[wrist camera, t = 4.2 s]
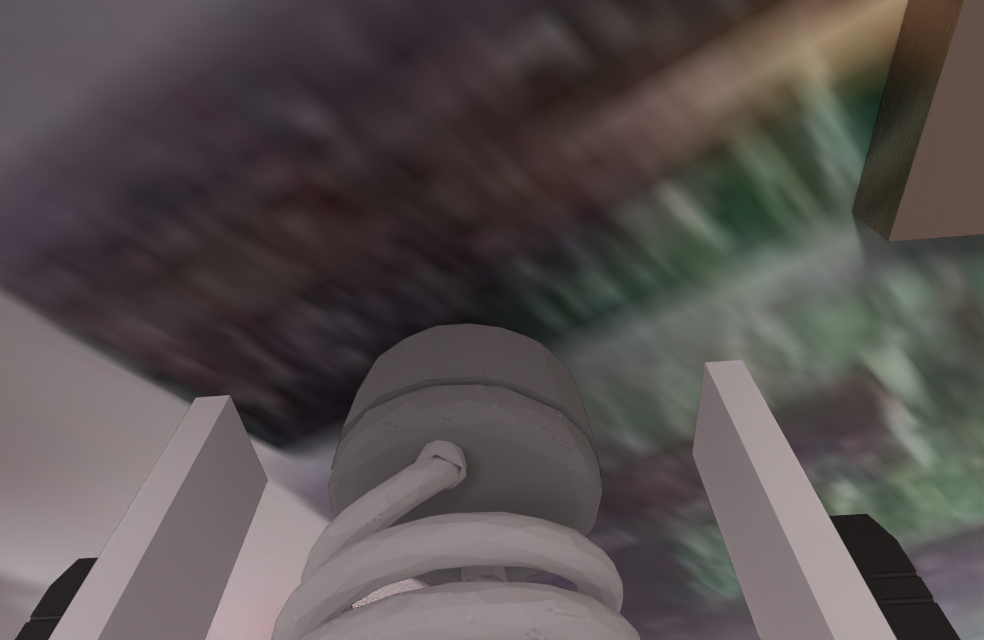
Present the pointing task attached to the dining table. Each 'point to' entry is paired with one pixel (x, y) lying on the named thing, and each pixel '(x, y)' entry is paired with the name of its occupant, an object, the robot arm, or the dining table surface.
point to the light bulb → (462, 501)
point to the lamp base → (930, 128)
